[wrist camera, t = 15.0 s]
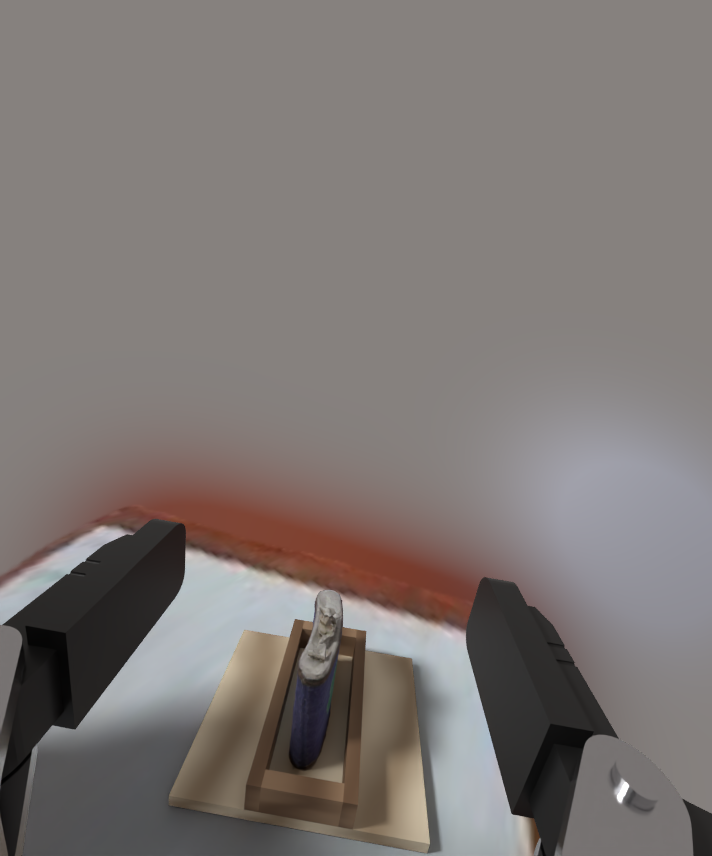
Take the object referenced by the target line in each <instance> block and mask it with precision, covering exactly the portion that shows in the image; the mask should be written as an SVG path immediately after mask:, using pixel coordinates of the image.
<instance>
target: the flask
mask: <svg viewBox="0 0 712 856" xmlns="http://www.w3.org/2000/svg"><path fill="white" fill-rule="evenodd" d="M342 628H343V607H342V600H341V597H340V595H339V594H338V593H337V592H335V591H333V590H324V591H320V592H319V594H318V595H317V598H316V601H315V613H314V621H313V628H312V632H311V636H310V638H309V641H308V644H307V646H306V648H305V650H304V651H303V653H302V655H301V657H300V660H299V662H298V671H297V684H296V692H295V702H294V707H293V719H292V730H291V738H290V748H289V752H288V756H289V759H290V762H291V764H292V768H293V769H295V768H296V769H298V770H301V771H306V770H309V769H312V767H313V766H314V765H315V764H316V762H317V759H318V757H319V756H320V754H321V751H322V748H323V743H324V740H325V738H326V732H327V730H328V725H329V718H330V708H331V699H332V694H333V688H334V680H335V674H336V668H337V661H338V654H339V648H340V643H341V637H342Z"/></svg>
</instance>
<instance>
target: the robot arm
mask: <svg viewBox="0 0 712 856" xmlns="http://www.w3.org/2000/svg"><path fill="white" fill-rule="evenodd" d="M185 542H186V529H185V526H184V524H182V523H176V522H170V521H165V520H159V519H152V520H151V521H149V522H148V523H147V524H145V525H144V526H143V527H142V528H141V529H140V530H138V531H137V532H136V533H135V534H134V535H125V536H122V537H120V538H118V539H116V540H114V541H111V542H109V543H107V544H105V545H103V546H102V547H101V548H100V549H98V550H97V551H96V552H94V553H93V554H92V555H91V556H89V557H88V558H87V559H86V561H85V562H82V563H80V564H79V565H78V566H77V567H75V568H74V569H73V570H72V571H71V573H70V574H66V575H65V576H64V577H63V578H61V579H60V580H59V581H58V582H56V583H55V584H54V585H53V586H51V587H50V588H49V589H47V590H46V591H45V592H44V593H42V594H41V595H40V596H39V597H37V598H36V599H35V600H33V601H32V602H31V603H30V604H28V605H27V606H26V607H25V608H23V609H22V610H21V611H19V612H18V613H17V614H16V615H14V616H13V617H12V618H11V619H9V620H8V621H7V622H6V623H4V624H3V625H0V856H22V854H23V847H24V840H25V833H26V827H27V820H28V813H29V807H30V800H31V793H32V786H33V780H34V773H35V766H36V760H37V751H38V747H37V743H38V742H39V741H40V740H41V738H42V737H43V736H44V735H45V733H46V732H47V731H48V730H49V729H50V727H51V726H52V725H54V726H59V727H65V728H70V729H76V728H77V726H78V725H79V724H80V722H81V721H82V720H83V718H84V717H85V716H86V714H87V713H88V712H89V710H90V709H91V708H92V707H93V705H94V704H95V703H96V701H97V700H98V699H99V697H100V696H101V695H102V693H103V692H104V691H105V689H106V688H107V687H108V685H109V684H110V683H111V682H112V680H113V679H114V678H115V676H116V675H117V674H118V672H119V671H120V670H121V668H122V667H123V666H124V664H125V663H126V662H127V660H128V659H129V658H130V656H131V655H132V654H133V653H134V651H135V650H136V649H137V647H138V646H139V645H140V643H141V642H142V641H143V639H144V638H145V637H146V635H147V634H148V633H149V631H150V630H151V629H152V628H153V626H154V625H155V624H156V622H157V621H158V620H159V618H160V617H161V616H162V614H163V613H164V612H165V610H166V609H167V608H168V606H169V605H170V604H171V602H172V601H173V600H174V599H175V597H176V596H177V594H178V592H179V590H180V588H181V585H182V583H183V579H184V574H185ZM466 644H467V650H468V654H469V658H470V662H471V665H472V669H473V673H474V676H475V680H476V684H477V687H478V691H479V695H480V699H481V702H482V706H483V710H484V713H485V717H486V721H487V724H488V728H489V732H490V736H491V739H492V743H493V747H494V750H495V754H496V758H497V761H498V765H499V769H500V772H501V776H502V780H503V784H504V787H505V791H506V795H507V798H508V802H509V806H510V809H511V813H512V814H513V815H519V816H524V817H529V818H534V819H535V822H536V826H537V829H538V832H539V835H540V839H539V841H538V844H537V846H536V849H535V853H534V856H712V814H711V813H709V812H707V811H705V810H703V809H701V808H699V807H697V806H695V805H693V804H691V803H689V802H687V801H685V800H684V799H682V798H681V796H680V795H679V793H678V792H677V790H676V788H675V787H674V786H673V784H672V783H671V782H670V780H669V779H668V778H667V777H666V776H665V774H664V773H663V772H662V771H661V770H660V769H659V768H658V767H657V766H656V765H655V764H654V763H653V762H652V761H651V760H650V759H649V758H647V757H646V756H645V755H644V754H642V753H641V752H640V751H638V750H637V749H636V748H634V747H632V746H631V745H629V744H627V743H626V742H624V741H622V740H620V739H619V738H618V737H617V735H616V733H615V731H614V730H613V728H612V726H611V725H610V723H609V721H608V719H607V718H606V716H605V714H604V713H603V711H602V709H601V707H600V706H599V704H598V702H597V700H596V699H595V697H594V695H593V694H592V692H591V690H590V688H589V687H588V685H587V683H586V681H585V680H584V678H583V676H582V675H581V673H580V671H579V670H578V668H577V667H575V665H574V661H573V659H572V657H571V656H570V654H569V652H568V651H567V649H565V648H564V644H563V642H562V641H561V638H560V637H559V635H558V633H557V632H556V630H555V628H554V626H553V625H552V624H551V623H550V622H549V621H548V620H547V619H546V618H545V617H544V616H543V615H542V614H541V613H540V612H539V611H538V610H537V609H536V608H535V607H531V606H527V604H526V602H525V600H524V598H523V596H522V595H521V593H520V591H519V589H518V587H517V586H516V584H515V583H513V582H509V581H503V580H497V579H491V578H486V577H484V578H483V579H482V580H481V581H480V584H479V587H478V590H477V593H476V597H475V600H474V603H473V607H472V610H471V613H470V617H469V620H468V624H467V630H466Z"/></svg>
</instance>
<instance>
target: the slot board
mask: <svg viewBox="0 0 712 856" xmlns="http://www.w3.org/2000/svg"><path fill="white" fill-rule="evenodd" d="M312 628H313V622H309V621H303V620H297V619H295V621H294V624H293V628H292V631H291V634H290V638H289V637H283V636H277V635H271V634H266V633H260V632H254V631H248V630H244V632H243V634H242V636H241V638H240V640H239V643H238V645H237V647H236V649H235V651H234V654H233V656H232V658H231V660H230V662H229V664H228V667H227V669H226V671H225V673H224V675H223V678H222V680H221V682H220V684H219V686H218V689H217V691H216V693H215V695H214V697H213V700H212V702H211V704H210V706H209V708H208V711H207V713H206V715H205V717H204V719H203V722H202V724H201V726H200V728H199V730H198V733H197V735H196V737H195V739H194V741H193V744H192V746H191V748H190V750H189V752H188V755H187V757H186V759H185V761H184V763H183V765H182V768H181V770H180V772H179V774H178V776H177V779H176V781H175V783H174V785H173V787H172V790H171V792H170V794H169V806H175V807H180V808H186V809H191V810H196V811H202V812H207V813H212V814H218V815H223V816H229V817H234V818H239V819H245V820H250V821H256V822H261V823H266V824H272V825H277V826H282V827H288V828H293V829H299V830H304V831H309V832H315V833H320V834H325V835H331V836H336V837H342V838H347V839H352V840H358V841H363V842H369V843H374V844H379V845H385V846H390V847H395V848H401V849H406V850H412V851H417V852H422V853H427V852H428V849H429V845H430V839H429V829H428V819H427V809H426V798H425V788H424V778H423V767H422V757H421V747H420V737H419V726H418V716H417V706H416V696H415V685H414V675H413V665H412V659H411V658H405V657H399V656H393V655H388V654H382V653H376V652H370V651H365V645H366V631H361V630H356V629H350V628H344V627H343V628H342V637H341V643H340V648H339V654H338V661H337V668H336V674H335V680H334V688H333V694H332V699H331V708H330V718H329V725H328V730H327V732H326V738H325V740H324V743H323V748H322V751H321V754H320V756H319V757H318V759H317V762H316V764H315V765H314V766H313V767H312V769H309V770H306V771H301V770H298V769H296V768H295V769H293V768H292V764H291V762H290V759H289V756H288V752H289V748H290V738H291V730H292V719H293V707H294V702H295V692H296V684H297V671H298V662H299V660H300V657H301V655H302V653H303V651H304V650H305V648H306V646H307V644H308V641H309V638H310V636H311V632H312Z"/></svg>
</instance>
